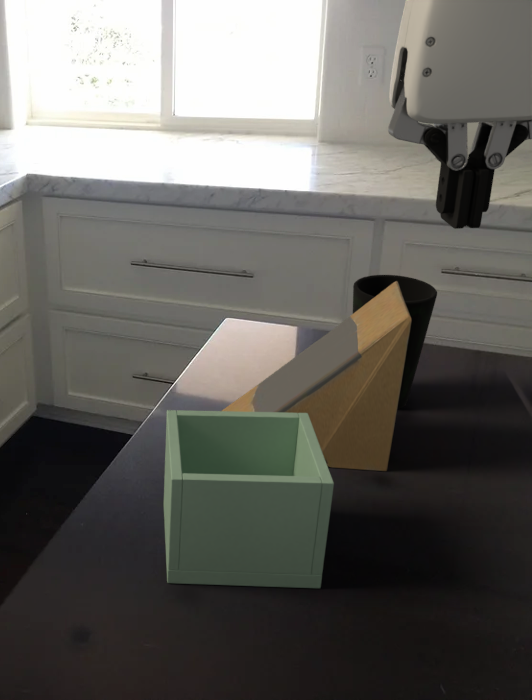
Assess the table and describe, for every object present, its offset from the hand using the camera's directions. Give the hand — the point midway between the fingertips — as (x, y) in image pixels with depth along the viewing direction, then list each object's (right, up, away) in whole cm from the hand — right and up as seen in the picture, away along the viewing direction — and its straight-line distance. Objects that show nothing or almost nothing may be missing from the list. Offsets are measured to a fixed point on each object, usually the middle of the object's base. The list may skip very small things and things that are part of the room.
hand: (459, 222), depth 60 cm
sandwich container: (-6, -18, +21) cm, 28 cm away
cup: (+5, -14, +29) cm, 33 cm away
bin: (-9, -20, +5) cm, 22 cm away
